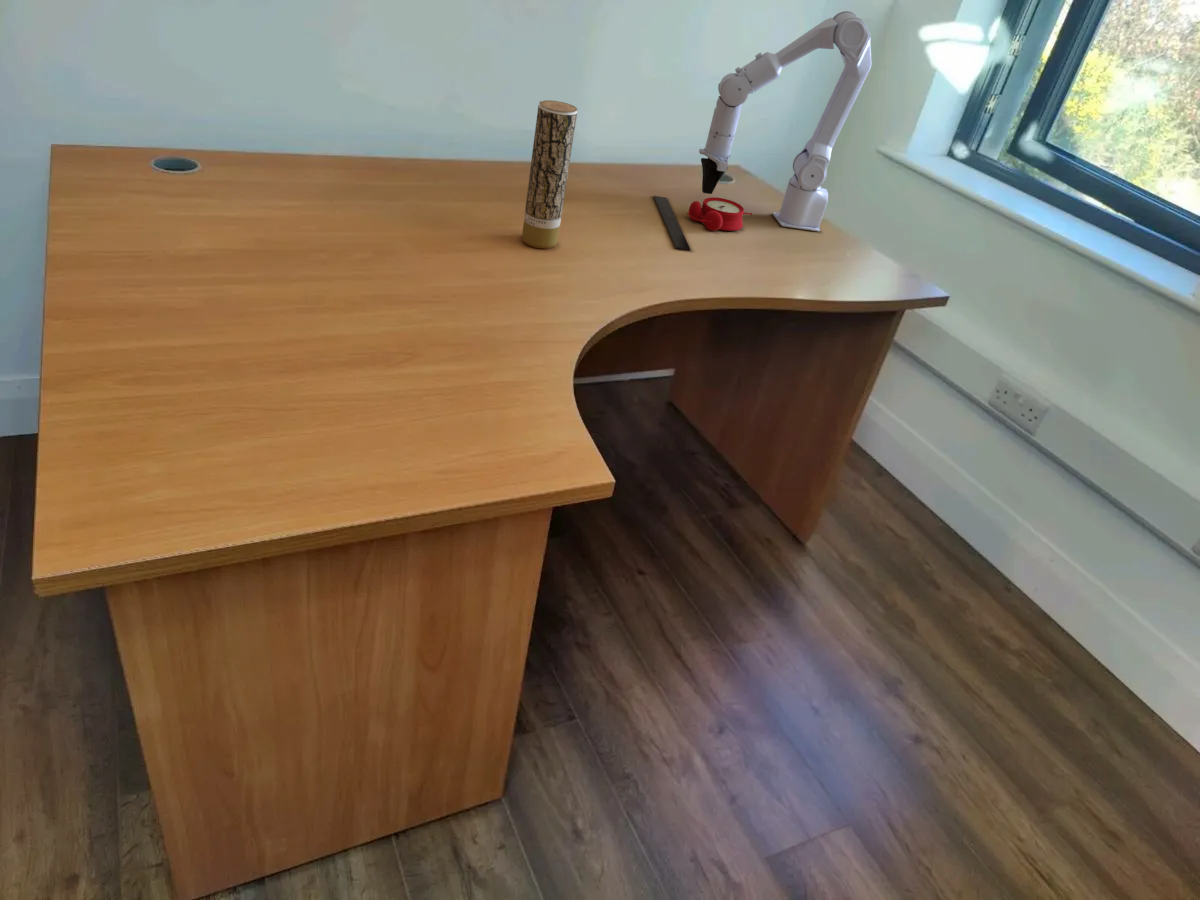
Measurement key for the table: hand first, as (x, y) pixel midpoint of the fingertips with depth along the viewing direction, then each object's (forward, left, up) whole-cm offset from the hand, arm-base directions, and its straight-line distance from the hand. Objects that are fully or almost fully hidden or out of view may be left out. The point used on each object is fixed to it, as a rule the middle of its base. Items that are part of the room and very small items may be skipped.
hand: (706, 192), depth 192 cm
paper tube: (+40, +35, -3) cm, 53 cm away
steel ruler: (+10, +14, -3) cm, 18 cm away
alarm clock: (0, +11, -3) cm, 12 cm away
